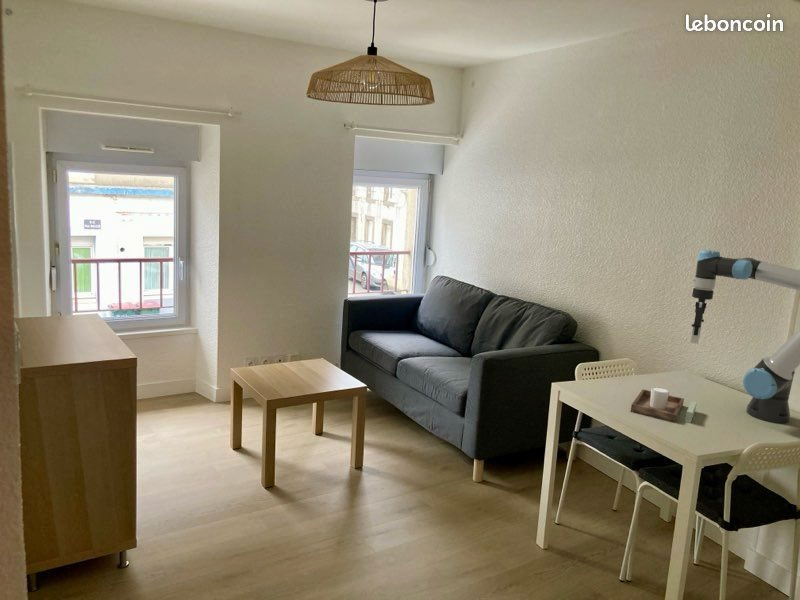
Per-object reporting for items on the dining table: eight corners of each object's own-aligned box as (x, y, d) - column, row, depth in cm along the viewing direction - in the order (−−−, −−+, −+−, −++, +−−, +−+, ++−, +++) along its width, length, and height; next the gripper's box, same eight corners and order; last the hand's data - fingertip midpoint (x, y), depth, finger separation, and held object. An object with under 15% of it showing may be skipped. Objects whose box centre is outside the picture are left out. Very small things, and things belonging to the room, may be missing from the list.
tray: (682, 405, 260) (684, 398, 259) (674, 422, 239) (676, 414, 239) (641, 396, 267) (642, 389, 267) (630, 411, 247) (631, 404, 246)
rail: (695, 411, 254) (696, 401, 253) (690, 423, 240) (692, 412, 239) (689, 410, 255) (691, 400, 254) (684, 421, 241) (686, 411, 240)
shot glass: (668, 411, 249) (671, 393, 248) (649, 408, 250) (652, 391, 249) (664, 405, 256) (667, 388, 254) (646, 402, 257) (649, 385, 256)
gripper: (694, 284, 271) (687, 333, 275) (691, 290, 249) (683, 343, 253) (714, 286, 268) (706, 336, 272) (713, 293, 246) (704, 347, 250)
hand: (695, 340), depth 262 cm, fingers open, 13 cm apart
